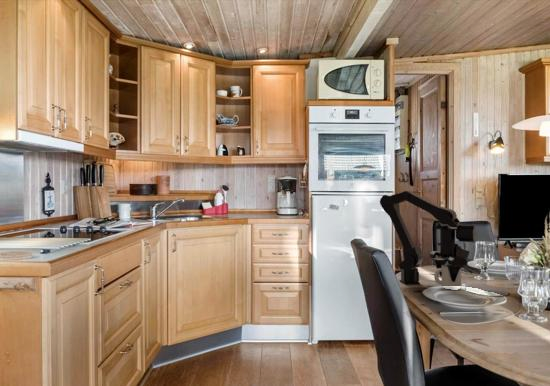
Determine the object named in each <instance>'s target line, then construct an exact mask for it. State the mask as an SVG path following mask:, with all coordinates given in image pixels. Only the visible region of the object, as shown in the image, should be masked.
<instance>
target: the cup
mask: <svg viewBox="0 0 550 386" xmlns="http://www.w3.org/2000/svg"><path fill="white" fill-rule="evenodd" d="M447 265H449V264H445V265H442V268H438V269H437V268H436V270H435V271H434V277H433V278H434V281H435V283H436V284H437V285H439V286H441V287H442V286H461V287H462V268H461V269H460V270H459V272H458V275H457V277H456V280H455V282H452V280H451V277H450V274H449V270H448V267H447ZM440 272H442V277H441V280H440V278H439V276H440V274H439V273H440Z"/></svg>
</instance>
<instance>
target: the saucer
mask: <svg viewBox="0 0 550 386" xmlns="http://www.w3.org/2000/svg"><path fill="white" fill-rule="evenodd" d="M465 287H472V288H478V289H481V290H484V291H488V292H494V293H497V294H500V295H503V296H502V297H505V296H508V295H509V290H508V289H506V288H504V287H500V286H496V285H488V284H469V285H465Z"/></svg>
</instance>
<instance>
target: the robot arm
mask: <svg viewBox="0 0 550 386" xmlns="http://www.w3.org/2000/svg"><path fill="white" fill-rule="evenodd" d="M404 202H408V203H410V204H411V205H414V206H416V207H417V208H419V209H421V210H423V211H425V212H426V213H429V214H430V215H431V216H432V217H433V218H434V219H435V220H437V221H438V222H439V223H438V224H436V225H435V226H434V230H439V242H437V246H439V250H433V251H431V252H429V259H431V261H432V262H433V265H434V266H435V268H436V270H437V269H438V268H442V265H447V264H446V263H448V264H449V265H447V267H448V270H449V274H450V277H451V280H452V282H455V280H456V277H457V275H458V272H459V270H460V269H461V270H462V268H465V267H466V266H468V261H469V260H468V258H469V256H470V253H471V251H470V250H468V249H467V250H466V249H464V248H462V246H461V245H460V246H459V244H458V243H456V240H458V241H459V242H460V243H461V242H463V243H476V241H477V237H478V236H477V235H478V234H477V230H476V229H477V228H476V225H475V224H463V223H462V222H461V221H460V219H458V217H457V213H456V211H455V210H453V209H450V208H447V207H444V206H442V205H441V206H440V205H437V204H435V203H433V202H431V201H430V200H427V199H425V198H423V197H421V196H420V195H417V194H415V193H413V192H412V191H411V190H404V191H402V192H399V193H398V192H397V193H395V194H386V195H382V196H381V197H380V200H379V205H380V206H381V208H382V209H383V210H384V212H385V213H386V215H388V216H389V218H390V220H391V223H392V225H393V228H394V229H395V230H394V231H396V234H397V236H398V239H399V241H400V243H401V245H402V254H403V260H402V261H401V262H400V263H399V265H398V266H399V269H400V279H399V280H398V281H399V282H400V283H401V284H405V285H420V284H421V283H420V272H419V266H420V264H422V262H423V261H424V252H423V251H422V247H421V245H416V244H415V243H414V242H413V240H412V237H411V235H410V233H409V230H408V228H407V225H406V224H405V221H404V219H403V217H402V214H401V212H400V211H401V210H400V209H401V208H400V204H401V203H404ZM439 276H440V277H441V278H442V272H440V273H439Z"/></svg>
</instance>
